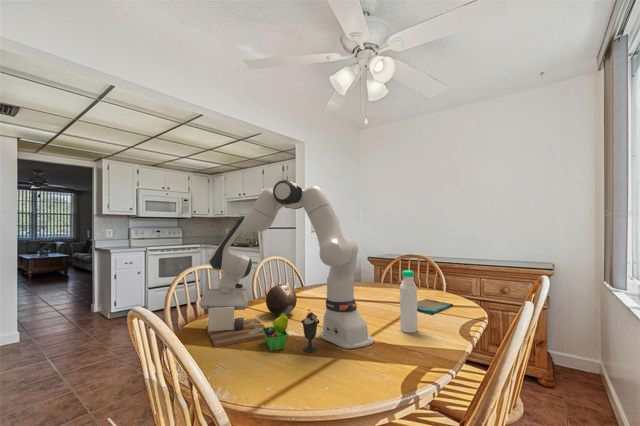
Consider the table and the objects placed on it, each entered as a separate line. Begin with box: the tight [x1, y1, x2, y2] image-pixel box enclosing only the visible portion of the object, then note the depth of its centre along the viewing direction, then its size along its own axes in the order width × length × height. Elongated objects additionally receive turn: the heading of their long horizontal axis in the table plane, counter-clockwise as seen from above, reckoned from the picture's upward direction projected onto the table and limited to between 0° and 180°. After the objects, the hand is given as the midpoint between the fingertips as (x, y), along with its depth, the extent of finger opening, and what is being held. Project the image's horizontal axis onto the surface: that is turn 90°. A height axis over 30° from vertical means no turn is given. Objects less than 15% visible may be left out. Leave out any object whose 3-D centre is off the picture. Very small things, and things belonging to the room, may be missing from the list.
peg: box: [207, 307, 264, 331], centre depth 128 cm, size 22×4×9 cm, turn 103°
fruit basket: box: [263, 313, 289, 351], centre depth 115 cm, size 11×9×11 cm
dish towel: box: [417, 298, 454, 316], centre depth 164 cm, size 17×23×2 cm
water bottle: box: [399, 269, 419, 334], centre depth 129 cm, size 7×7×25 cm
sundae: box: [300, 308, 320, 353], centre depth 110 cm, size 7×7×15 cm
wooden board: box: [205, 318, 266, 348], centre depth 127 cm, size 22×22×1 cm
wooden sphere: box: [265, 283, 297, 317], centre depth 151 cm, size 15×15×15 cm
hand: (219, 318), depth 128 cm, fingers closed
